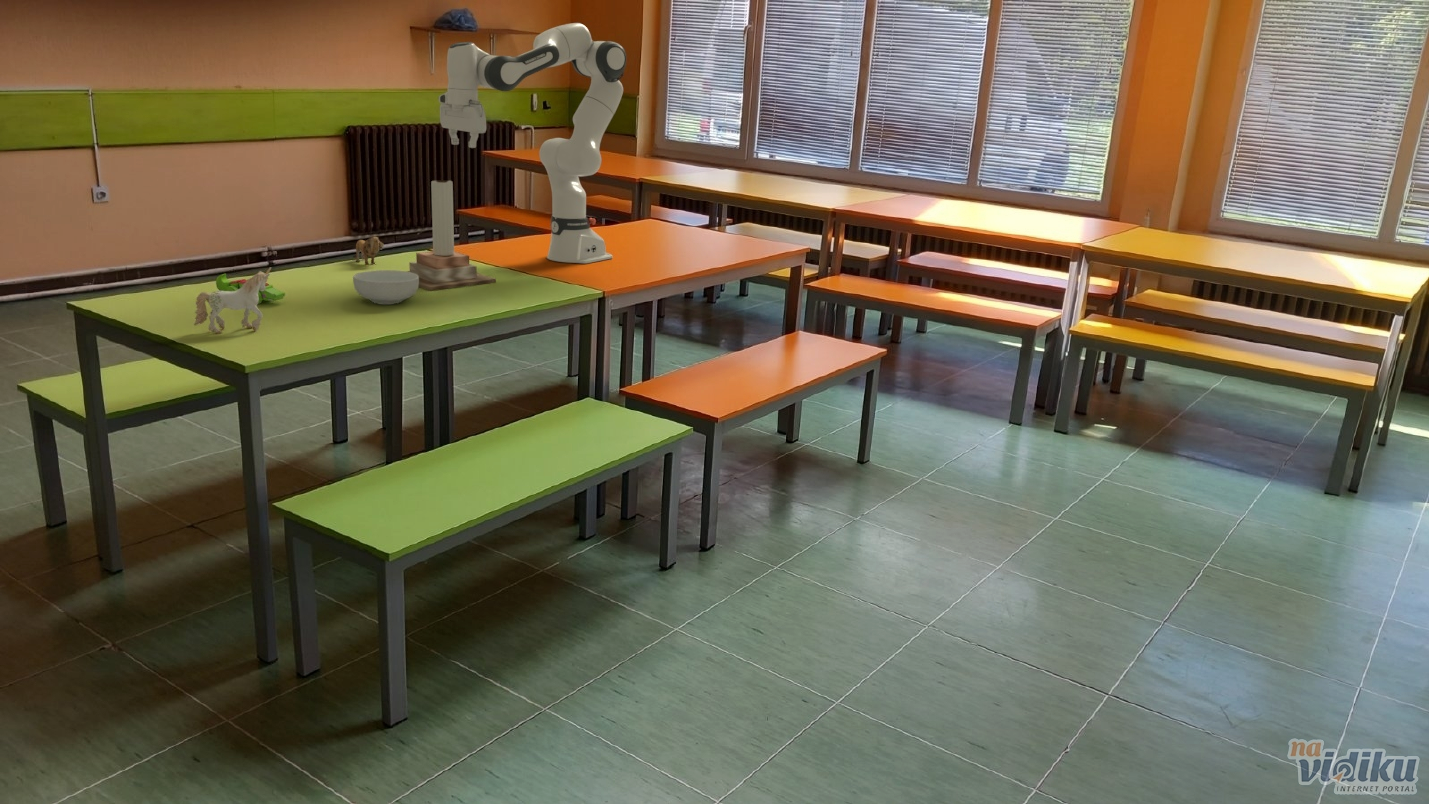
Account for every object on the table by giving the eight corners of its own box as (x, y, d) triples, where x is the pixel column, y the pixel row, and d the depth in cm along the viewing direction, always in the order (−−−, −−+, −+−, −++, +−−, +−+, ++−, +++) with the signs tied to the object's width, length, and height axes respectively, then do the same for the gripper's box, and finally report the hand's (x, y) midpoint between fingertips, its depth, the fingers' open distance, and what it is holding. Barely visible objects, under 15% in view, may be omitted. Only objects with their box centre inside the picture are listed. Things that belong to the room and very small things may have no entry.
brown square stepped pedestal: (455, 269, 327) (454, 245, 324) (495, 282, 312) (495, 257, 310) (390, 276, 312) (389, 251, 309) (430, 290, 297) (429, 264, 295)
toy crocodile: (289, 303, 275) (288, 280, 273) (270, 308, 269) (268, 285, 267) (233, 293, 282) (231, 270, 280) (213, 297, 276) (210, 274, 274)
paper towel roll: (439, 257, 305) (437, 182, 298) (429, 253, 309) (427, 180, 303) (461, 255, 310) (460, 181, 303) (451, 251, 314) (449, 179, 307)
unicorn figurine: (288, 327, 253) (284, 272, 249) (206, 339, 239) (200, 281, 235) (275, 320, 257) (271, 267, 253) (193, 332, 244) (187, 275, 240)
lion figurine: (387, 266, 325) (385, 237, 323) (371, 267, 322) (370, 238, 319) (360, 258, 334) (359, 229, 331) (345, 259, 330) (343, 231, 327)
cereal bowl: (432, 301, 286) (432, 275, 284) (385, 311, 272) (384, 285, 270) (388, 291, 294) (387, 266, 292) (340, 301, 280) (339, 275, 278)
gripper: (491, 101, 311) (491, 149, 315) (453, 96, 324) (454, 142, 328) (473, 101, 306) (473, 149, 311) (435, 96, 320) (436, 142, 324)
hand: (463, 146), depth 320 cm, fingers open, 8 cm apart
